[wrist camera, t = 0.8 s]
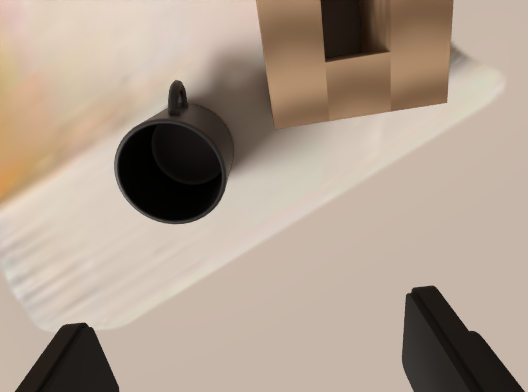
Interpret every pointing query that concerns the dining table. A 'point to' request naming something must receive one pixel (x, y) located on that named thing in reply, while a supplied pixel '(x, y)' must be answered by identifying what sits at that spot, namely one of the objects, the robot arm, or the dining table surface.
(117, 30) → the dining table surface
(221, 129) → the mug
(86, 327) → the robot arm
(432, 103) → the hole block
